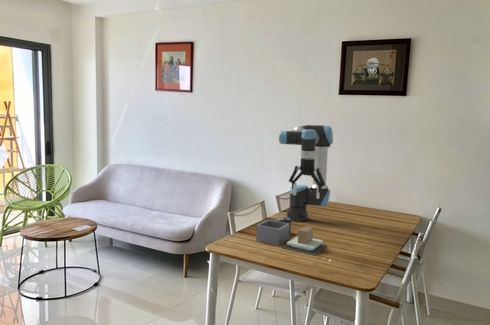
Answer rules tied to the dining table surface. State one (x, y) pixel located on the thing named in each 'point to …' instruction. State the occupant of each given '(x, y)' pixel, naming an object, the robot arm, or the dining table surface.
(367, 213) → the dining table surface
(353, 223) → the dining table surface
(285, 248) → the mat
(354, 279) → the dining table surface
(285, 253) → the dining table surface
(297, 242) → the block on square base
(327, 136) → the robot arm
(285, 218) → the dark elongated oval piece
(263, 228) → the storage box
